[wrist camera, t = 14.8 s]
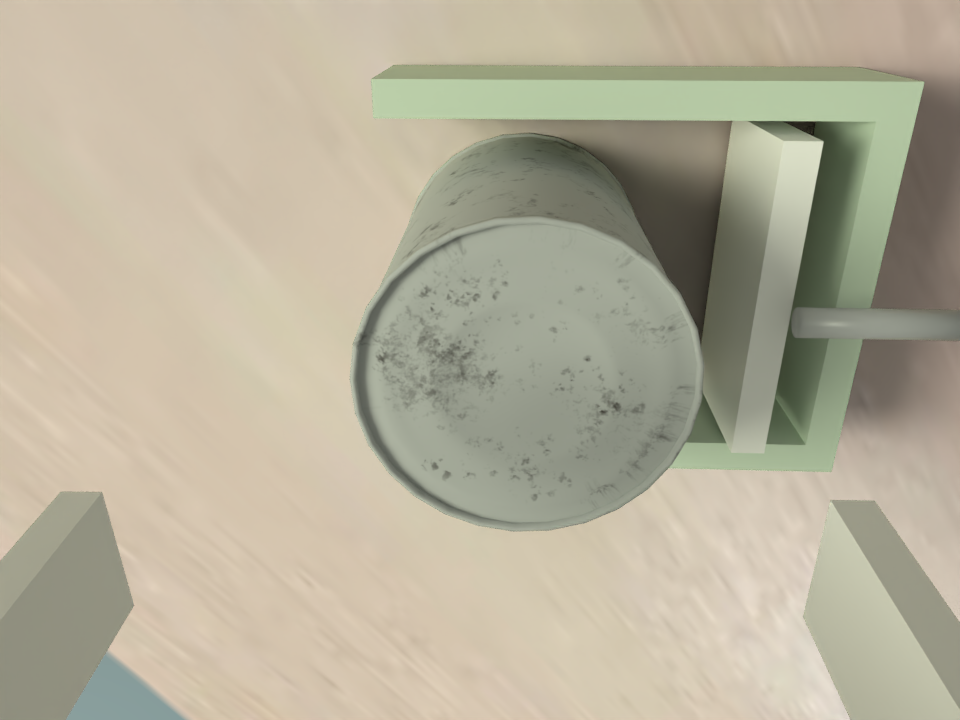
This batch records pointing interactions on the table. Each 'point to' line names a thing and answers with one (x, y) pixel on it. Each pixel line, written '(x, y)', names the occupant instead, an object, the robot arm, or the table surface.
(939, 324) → the pusher
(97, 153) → the table surface
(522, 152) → the grey speckled cylinder
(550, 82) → the pale green open box
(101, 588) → the robot arm
